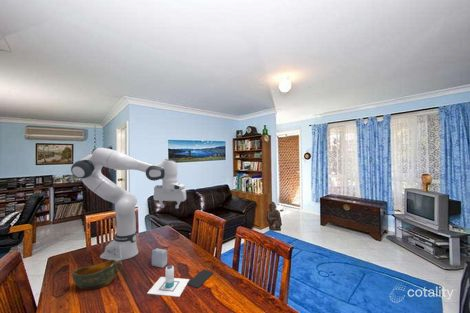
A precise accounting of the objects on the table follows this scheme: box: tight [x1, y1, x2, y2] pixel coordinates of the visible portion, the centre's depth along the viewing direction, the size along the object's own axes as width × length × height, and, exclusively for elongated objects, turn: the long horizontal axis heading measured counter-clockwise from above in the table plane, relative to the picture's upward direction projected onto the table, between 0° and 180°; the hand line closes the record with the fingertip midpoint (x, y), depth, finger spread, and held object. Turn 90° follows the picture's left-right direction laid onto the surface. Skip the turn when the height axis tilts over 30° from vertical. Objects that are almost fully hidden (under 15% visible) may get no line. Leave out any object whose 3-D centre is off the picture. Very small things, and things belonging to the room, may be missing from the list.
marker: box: [164, 264, 175, 288], centre depth 100 cm, size 4×4×10 cm
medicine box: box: [151, 247, 168, 269], centre depth 120 cm, size 8×4×9 cm, turn 71°
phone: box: [186, 269, 214, 289], centre depth 107 cm, size 7×1×15 cm
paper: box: [146, 276, 190, 298], centre depth 100 cm, size 16×13×1 cm
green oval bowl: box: [71, 260, 124, 290], centre depth 102 cm, size 13×20×10 cm, turn 79°
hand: (169, 207), depth 124 cm, fingers open, 8 cm apart
